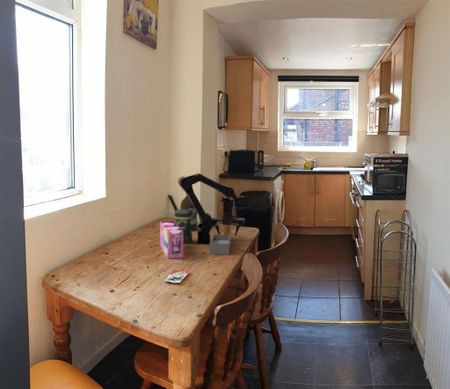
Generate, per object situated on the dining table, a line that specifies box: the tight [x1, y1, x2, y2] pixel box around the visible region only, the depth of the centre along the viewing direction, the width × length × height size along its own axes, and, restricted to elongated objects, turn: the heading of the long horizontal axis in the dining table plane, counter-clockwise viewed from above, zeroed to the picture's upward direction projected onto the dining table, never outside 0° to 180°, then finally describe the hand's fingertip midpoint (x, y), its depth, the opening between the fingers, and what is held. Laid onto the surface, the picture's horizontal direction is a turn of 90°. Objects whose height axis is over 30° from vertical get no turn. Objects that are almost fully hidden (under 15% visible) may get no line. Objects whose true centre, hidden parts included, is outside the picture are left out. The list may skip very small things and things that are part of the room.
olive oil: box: [180, 193, 198, 232], centre depth 261 cm, size 11×11×25 cm
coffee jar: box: [173, 208, 193, 245], centre depth 232 cm, size 10×8×19 cm
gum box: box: [159, 220, 184, 259], centre depth 215 cm, size 24×8×14 cm, turn 19°
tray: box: [209, 233, 231, 255], centre depth 221 cm, size 10×18×6 cm, turn 177°
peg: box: [223, 224, 232, 242], centre depth 238 cm, size 4×4×9 cm
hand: (227, 236), depth 238 cm, fingers open, 9 cm apart
